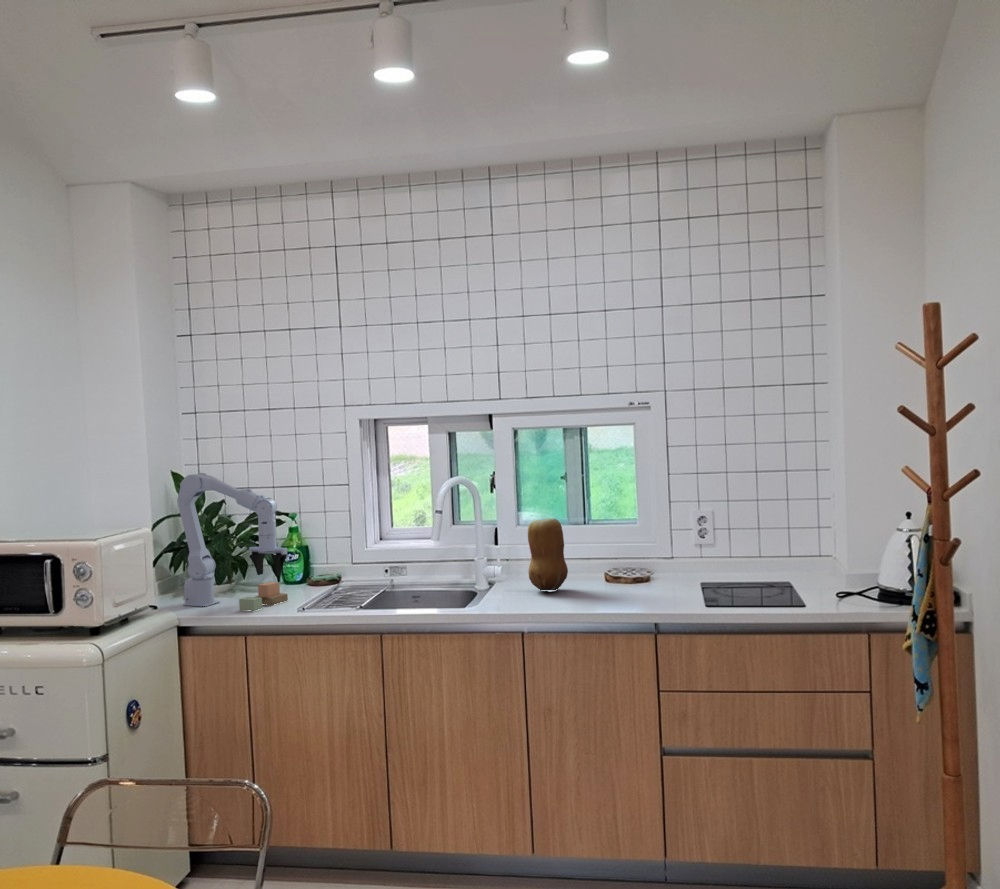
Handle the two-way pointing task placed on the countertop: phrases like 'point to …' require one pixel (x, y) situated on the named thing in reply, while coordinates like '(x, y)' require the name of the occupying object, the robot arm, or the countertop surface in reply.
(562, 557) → the butternut squash
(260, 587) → the terracotta brick
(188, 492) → the robot arm
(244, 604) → the sage brick
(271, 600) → the walnut slab
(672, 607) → the countertop surface
